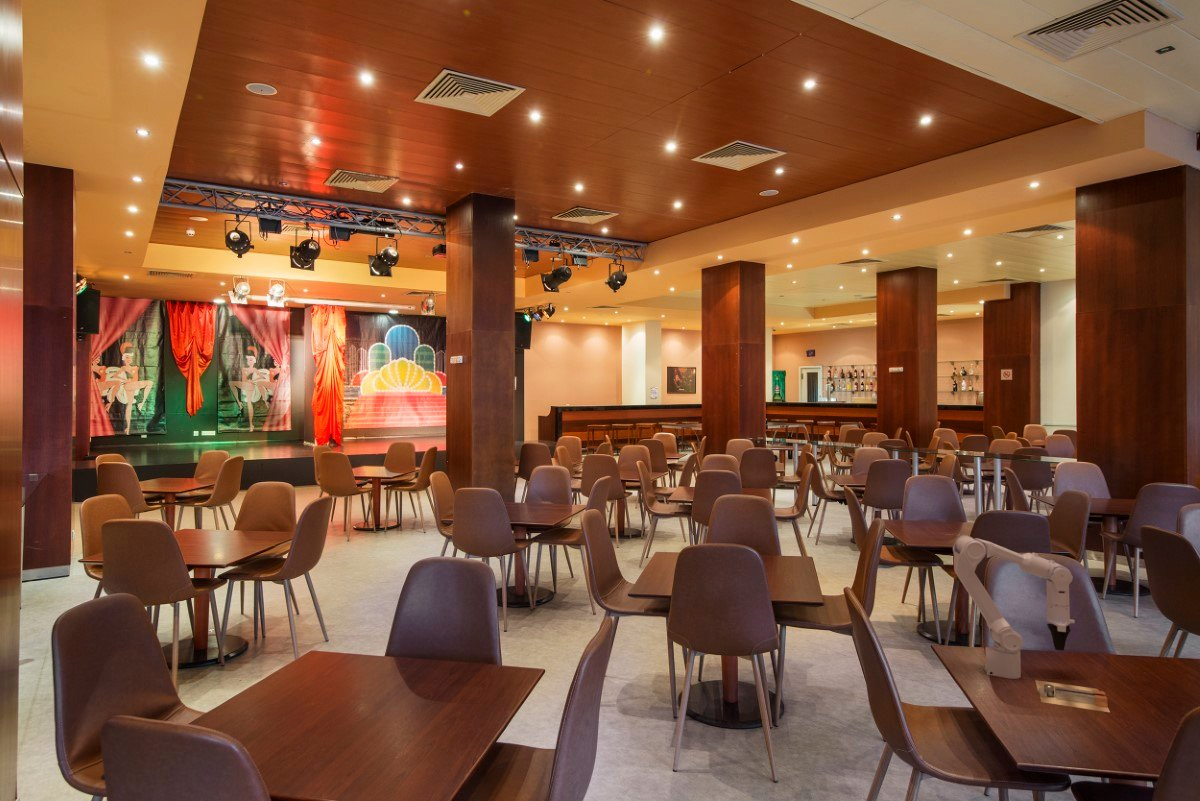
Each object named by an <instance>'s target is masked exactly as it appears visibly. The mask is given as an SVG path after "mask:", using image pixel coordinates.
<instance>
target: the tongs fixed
mask: <svg viewBox="0 0 1200 801" xmlns="http://www.w3.org/2000/svg"><path fill="white" fill-rule="evenodd" d="M1038 690H1039V692H1038V694H1039V698H1040V697H1044V698H1047V697H1054V686H1053V685H1050V684H1044V688H1038V689H1037V691H1038ZM1056 699H1059V700H1066V701H1072V702H1079V703H1086V704H1093V705H1096V706H1101V707H1108V705H1109V704H1108V701H1109V700H1108V697H1107V696H1106V695H1105V696H1100V695H1088V694H1081V693H1074V692H1067V691H1060V690H1056ZM1108 708H1109V707H1108Z"/></svg>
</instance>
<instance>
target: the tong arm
mask: <svg viewBox="0 0 1200 801" xmlns="http://www.w3.org/2000/svg"><path fill="white" fill-rule="evenodd" d="M1056 690H1060V691H1067V692H1074V693H1081V694H1088V695H1100V696H1106V692H1105V691H1102V690H1099V691H1096V690H1093V691H1086V690H1079V689H1072V688H1065V687H1057V686H1055V695H1056Z"/></svg>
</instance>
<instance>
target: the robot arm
mask: <svg viewBox="0 0 1200 801" xmlns="http://www.w3.org/2000/svg"><path fill="white" fill-rule="evenodd" d="M952 552H953V570H954V573H955V574H956V575H957V578H958V579H959V581H960V583H962V585H963V587H964V589H965V591H966V592H967V593H968V595H969V596H970V598H971V599H972V601H973V603H974V604H975V605H976V607H977V609H978V610H979V612H980V613H981V615H982V617H983V618H984V619H985V622H986V625H987V627H988V629H989V636H990V637H991V639H992V640H993V645H992V646H985V665H984V671H985V672H986V676H987V675H988V676H993V677H999V678H1005V679H1010V680H1011V679H1012V680H1013V679H1014V680H1015V679H1017V680H1018V679H1020V678H1021V677H1022V676H1021V675H1022V674H1021V670H1022V669H1021V668H1022V666H1021V649H1022V648H1023V646H1024V639H1023V637H1022V636H1021V635H1020V634H1019V633H1018V632H1017V631H1016V630H1014V629H1013V628H1012V626H1011V625H1010V623H1009V622H1008V621H1007V620H1006V619H1005V618H1004V616H1003V614H1002V613H1001V611H1000V610H999V608H998V607H997V605H996V604H995V602H994V600H993V599H992V597H991V595H990V594H989V592H988V591H987V589H986V588H985V586H984V585H983V583H982V582H981V580H980V579H979V577H978V575H977V574H976V573H975V572H976V569H977V566H978V565H979V564H980V562H982V560H983V559H984V558H987V559H988V558H992V557H996V558H999V559H1003V560H1006V561H1008V562H1011V563H1014V564H1017V565H1018V567H1019V568H1020V570H1021V571H1023V572H1024V573H1025V572H1026V573H1028V574H1030V575H1034V576H1037V578H1038V577H1039V578H1041V579H1045V580H1046V618H1045V619H1046V622H1048V623H1046V625H1047V628H1048V630H1049V631H1050V635H1051V637H1052V638H1051V639H1052V642H1053V647H1054V649H1055V651H1061V652H1063V651H1064V650H1065V648H1066V642H1067V638H1068V636H1069V634H1070V633H1071V627H1070V624H1075V621H1076V620H1075V619H1072V618H1071V616H1070V615H1071V613H1070V609H1071V606H1070V584H1071V583H1072V582H1073V578H1074V576H1073V575H1072V572H1071V570H1069V568H1068V567H1066V566H1065V565H1062V564H1059V563H1057V562H1055V560H1053V559H1049V560H1048V559H1047V558H1043V557H1041V556H1039V554H1038V553H1036V552H1032V553H1031V552H1027V553H1026V552H1025V553H1023V554H1021V553H1018V552H1016V551H1013V550H1011V549H1008V548H1006V547H1004V546H1000V545H998V544H996V543H993V542H992V541H989V540H984V539H981V538H976V537H975V538H973V537H972V536H971V535H965V534H964V535H961V536H959V537H958V538H957V539H956V540H955V542H954V544H953V546H952Z"/></svg>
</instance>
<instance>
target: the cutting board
mask: <svg viewBox="0 0 1200 801" xmlns="http://www.w3.org/2000/svg"><path fill="white" fill-rule="evenodd" d="M1044 684H1050V685H1053V686H1054V697H1047V698H1044V697H1040V696H1039V698H1040V702H1041V703H1045V704H1050V705H1051V704H1052V705H1059V706H1065V707H1070V708H1071V707H1073V708H1077V709H1084V710H1092V711H1097V712H1105V713H1111V711H1110V709H1109V707H1101V706H1096V705H1093V704H1086V703H1079V702H1072V701H1066V700H1059V699H1056V695H1055V686H1057V687H1065V688H1072V689H1079V690H1086V691H1093V690H1096V691H1100V690H1099V689H1098V688H1094V687H1086V686H1078V685H1073V684H1066V683H1058V682H1050V681H1043V680H1037V679H1035V685H1036V689H1037V692H1038V693H1039V690H1038V688H1044Z"/></svg>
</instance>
